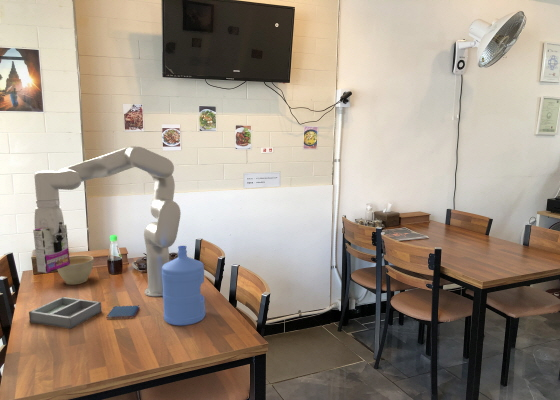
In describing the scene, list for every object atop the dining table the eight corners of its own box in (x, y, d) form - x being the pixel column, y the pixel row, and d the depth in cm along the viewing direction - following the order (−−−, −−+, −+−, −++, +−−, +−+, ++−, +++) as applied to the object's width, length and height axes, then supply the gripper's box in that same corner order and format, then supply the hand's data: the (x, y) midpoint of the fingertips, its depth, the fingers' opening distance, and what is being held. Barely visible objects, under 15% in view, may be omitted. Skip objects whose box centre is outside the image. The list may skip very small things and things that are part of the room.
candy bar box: (60, 263, 169) (57, 223, 167) (70, 265, 167) (67, 224, 165) (36, 272, 158) (32, 229, 156) (46, 273, 157) (42, 230, 154)
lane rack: (101, 311, 169) (100, 302, 168) (70, 328, 154) (69, 318, 153) (63, 306, 175) (62, 296, 174) (29, 322, 160) (28, 311, 159)
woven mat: (113, 310, 172) (113, 305, 171) (140, 309, 173) (140, 304, 172) (105, 321, 161) (104, 316, 161) (134, 320, 162) (133, 315, 162)
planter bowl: (60, 278, 210) (59, 256, 208) (96, 275, 214) (95, 254, 213) (54, 289, 194) (52, 266, 193) (92, 285, 199) (91, 262, 198)
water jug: (179, 330, 152) (176, 254, 148) (155, 318, 163) (152, 247, 159) (213, 317, 164) (211, 246, 160) (189, 306, 174) (187, 239, 170)
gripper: (22, 204, 158) (26, 252, 161) (58, 206, 153) (62, 255, 156) (38, 201, 165) (42, 247, 168) (74, 203, 160) (77, 250, 163)
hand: (52, 250), depth 162 cm, fingers closed on candy bar box, 5 cm apart
